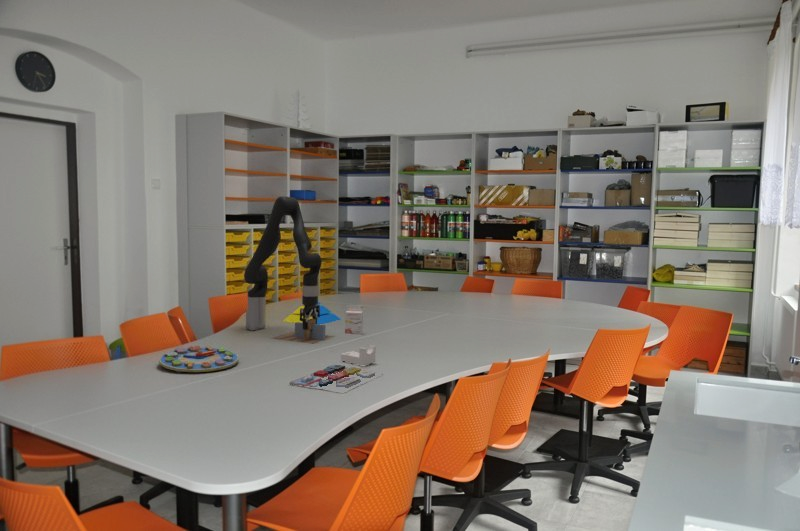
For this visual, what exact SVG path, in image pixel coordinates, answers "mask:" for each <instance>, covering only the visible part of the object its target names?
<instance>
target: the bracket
mask: <svg viewBox="0 0 800 531" xmlns="http://www.w3.org/2000/svg"><path fill="white" fill-rule="evenodd" d="M376 349H377V348H376V345H371V344H370V345H369V346H368V349H366V348H365V347H359V351H358V352H357V351H352V350H350V351H346V352H343V353H340V362H341V361H345V362H350V363H354V364H359V365H368V364H374V363H376ZM345 362H344V363H345ZM350 363H349V364H350ZM354 364H353V365H354ZM359 365H358V366H359ZM368 366H369V365H368Z"/></svg>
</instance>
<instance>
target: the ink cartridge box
mask: <svg viewBox="0 0 800 531" xmlns="http://www.w3.org/2000/svg"><path fill="white" fill-rule="evenodd" d="M346 306H347V308H346V311H345V314H344V316H345V317H344V333H345V334H351V335H359V336H361V335H363V332H364V331H363V328H364V326H363V324H364V323H363V322H364V321H363V320H364V311H363V308H364V306H363V305H359V304H358V305H357V304H347V305H346Z"/></svg>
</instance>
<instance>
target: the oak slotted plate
mask: <svg viewBox="0 0 800 531" xmlns="http://www.w3.org/2000/svg"><path fill="white" fill-rule="evenodd" d="M313 324H316V319H308V321H307V330H304V339H308V340H309V339H310V331H312V325H313Z"/></svg>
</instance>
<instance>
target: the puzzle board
mask: <svg viewBox="0 0 800 531" xmlns="http://www.w3.org/2000/svg"><path fill="white" fill-rule="evenodd" d="M361 370H362V368H361V367H355V366H350V367H346V365H342V364H340V365H339V364H333V365H329V366H327V367H326V368H323V369H321V370H317V371H315V372H312V373H309V374H305V375H304V376H303V377H299V378H297V379H294V380H292V381H289V385H290V384H294V385H302V386H310V387H317V386H318V385H319V386H320V387H322V386H327V385H328V384H332V383H333V381H336V387H345V388H349V387H351V386H353V385H356V384H358V383H360V382H361V380H360V379H357V378H356V377H352V378H344V377H349V375H354V374H355V373H356V375H357V376H360V377H362V378H371V377H373V376H375V373H376V372H375V373H371V372H372V371H369V372H360V371H361ZM342 371H343V372H342ZM338 372H339V373H338ZM332 373H333V374H335V375H331V374H332ZM336 373H337V374H336ZM327 376H328V379H326V380H322V379H321V378H324V377H327ZM342 378H344V379H342ZM294 385H293V386H294Z"/></svg>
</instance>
